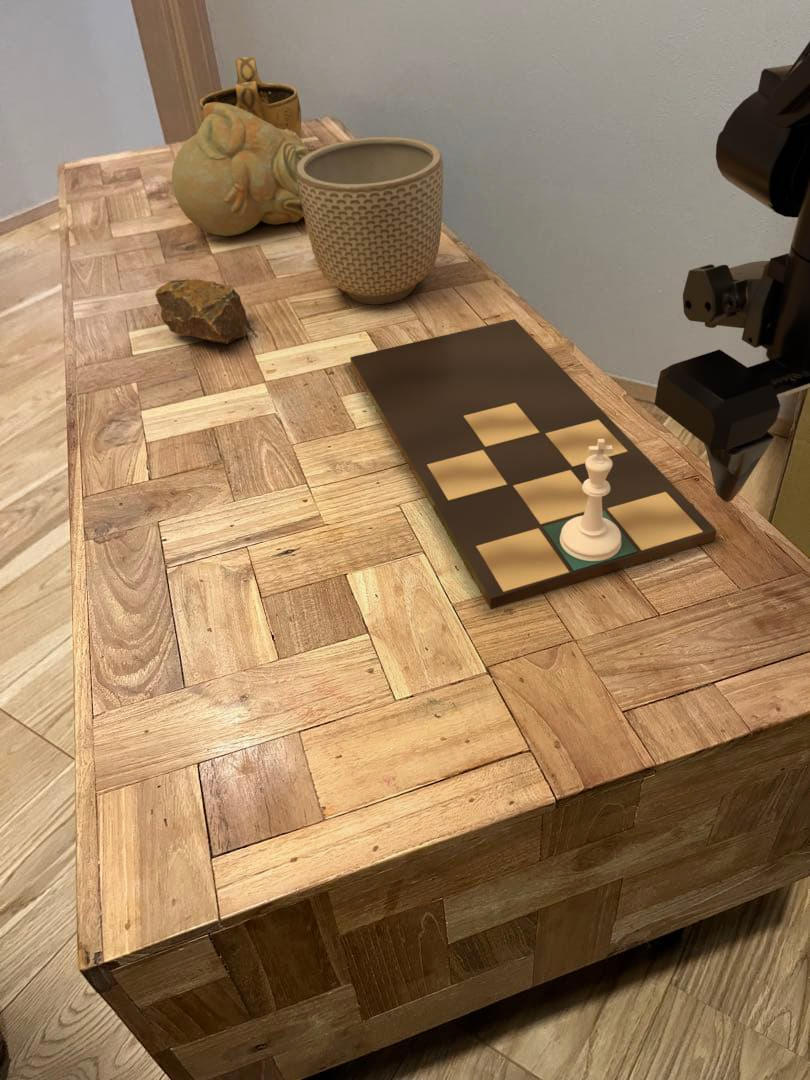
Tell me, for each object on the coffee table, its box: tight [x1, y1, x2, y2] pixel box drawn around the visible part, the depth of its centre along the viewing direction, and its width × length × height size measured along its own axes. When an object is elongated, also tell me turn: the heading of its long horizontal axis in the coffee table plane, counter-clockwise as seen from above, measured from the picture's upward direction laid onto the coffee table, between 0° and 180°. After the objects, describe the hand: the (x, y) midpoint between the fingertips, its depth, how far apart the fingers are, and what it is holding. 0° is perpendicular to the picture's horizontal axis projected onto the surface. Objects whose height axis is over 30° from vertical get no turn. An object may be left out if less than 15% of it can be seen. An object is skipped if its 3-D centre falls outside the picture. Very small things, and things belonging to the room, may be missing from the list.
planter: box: [296, 136, 444, 305], centre depth 101 cm, size 17×17×16 cm
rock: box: [154, 279, 247, 345], centre depth 98 cm, size 14×6×10 cm
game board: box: [349, 318, 718, 609], centre depth 80 cm, size 40×20×1 cm, turn 19°
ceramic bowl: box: [199, 56, 302, 138], centre depth 142 cm, size 22×17×15 cm
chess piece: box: [560, 439, 622, 561], centre depth 64 cm, size 5×5×10 cm
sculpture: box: [171, 102, 311, 237], centre depth 120 cm, size 18×20×20 cm
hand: (779, 476), depth 55 cm, fingers open, 9 cm apart
